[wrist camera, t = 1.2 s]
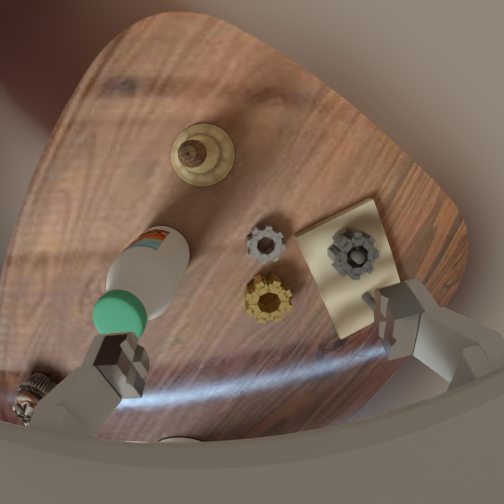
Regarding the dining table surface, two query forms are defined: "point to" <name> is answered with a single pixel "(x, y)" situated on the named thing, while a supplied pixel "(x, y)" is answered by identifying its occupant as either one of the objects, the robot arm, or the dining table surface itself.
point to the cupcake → (31, 395)
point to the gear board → (328, 279)
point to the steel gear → (343, 247)
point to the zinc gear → (269, 253)
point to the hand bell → (203, 155)
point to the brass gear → (273, 308)
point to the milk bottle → (142, 281)
